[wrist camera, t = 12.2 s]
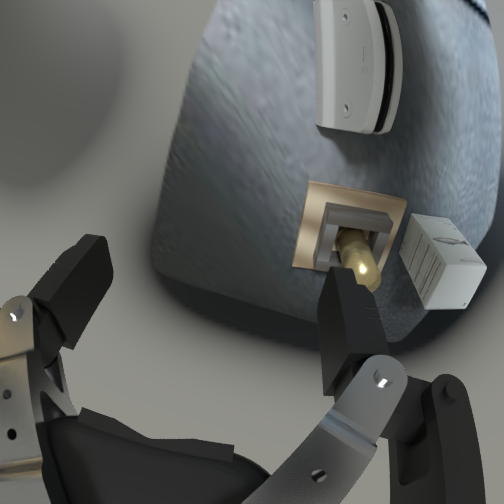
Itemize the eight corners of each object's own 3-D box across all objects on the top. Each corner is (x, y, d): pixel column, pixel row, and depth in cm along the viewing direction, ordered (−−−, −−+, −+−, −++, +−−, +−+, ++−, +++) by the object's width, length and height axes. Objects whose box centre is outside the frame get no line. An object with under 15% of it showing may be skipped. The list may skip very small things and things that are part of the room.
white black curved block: (312, -1, 23) (361, -20, 15) (347, 5, 24) (401, -6, 16) (315, 127, 33) (362, 148, 25) (348, 127, 34) (399, 147, 26)
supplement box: (448, 216, 37) (489, 267, 27) (434, 256, 41) (465, 311, 31) (409, 210, 37) (447, 263, 27) (396, 253, 42) (423, 311, 31)
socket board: (308, 180, 37) (311, 193, 33) (404, 198, 37) (415, 212, 33) (292, 261, 44) (292, 279, 41) (377, 272, 44) (383, 289, 41)
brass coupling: (338, 219, 38) (353, 265, 30) (366, 224, 38) (387, 269, 30) (331, 245, 41) (342, 294, 32) (358, 249, 41) (374, 297, 32)
